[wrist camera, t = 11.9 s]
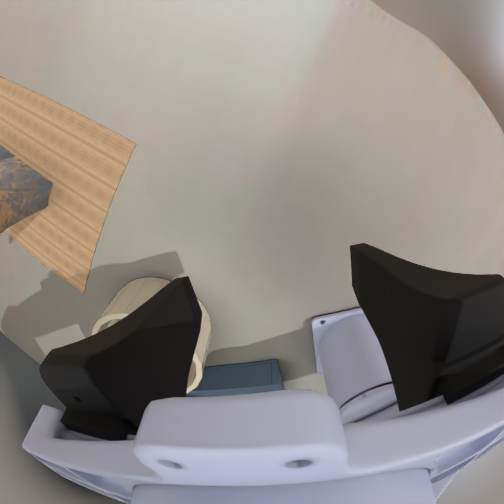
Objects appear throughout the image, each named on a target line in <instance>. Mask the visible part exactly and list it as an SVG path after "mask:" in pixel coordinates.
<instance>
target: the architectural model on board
mask: <svg viewBox="0 0 504 504" xmlns="http://www.w3.org/2000/svg"><path fill="white" fill-rule="evenodd" d="M135 145H136V144H135V143H133V142H131V141H129V140H127V139H126V138H124V137H122V136H120V135H118V134H116V133H114V132H112V131H111V130H109V129H107V128H105V127H103V126H101V125H99V124H97V123H95V122H93V121H91V120H89V119H87V118H85V117H84V116H82V115H80V114H78V113H76V112H74V111H72V110H70V109H68V108H66V107H64V106H62V105H60V104H57V103H55V102H53V101H51V100H49V99H47V98H45V97H43V96H41V95H39V94H37V93H34V92H32V91H30V90H28V89H26V88H24V87H22V86H19V85H17V84H15V83H13V82H10V81H8V80H6V79H4V78H1V77H0V232H2V231H5V232H6V233H7V234H8V235H9V236H10V237H12V238H13V239H14V240H15V241H16V242H17V243H18V244H20V245H21V246H22V247H23V248H24V249H25V250H27V251H28V252H29V253H30V254H31V255H33V256H34V257H35V258H36V259H37V260H39V261H40V262H41V263H43V264H44V265H45V266H46V267H48V268H49V269H50V270H52V271H53V272H54V273H55V274H57V275H58V276H60V277H61V278H62V279H64V280H65V281H66V282H68V283H69V284H71V285H72V286H73V287H75V288H76V289H78V290H79V291H81V292H82V293H83V294H84V290H85V286H86V282H87V278H88V274H89V270H90V266H91V262H92V259H93V255H94V252H95V248H96V245H97V242H98V239H99V235H100V232H101V229H102V226H103V223H104V220H105V218H106V215H107V212H108V209H109V206H110V204H111V201H112V198H113V196H114V193H115V191H116V188H117V186H118V183H119V181H120V178H121V176H122V174H123V171H124V169H125V167H126V164H127V162H128V160H129V158H130V156H131V153H132V151H133V149H134V147H135Z"/></svg>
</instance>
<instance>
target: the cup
mask: <svg viewBox="0 0 504 504" xmlns="http://www.w3.org/2000/svg"><path fill="white" fill-rule="evenodd" d="M170 282H171V281H169V280H165V279H161V278H155V277H145V278H139V279H135V280H133V281H130V282H129V283H127V284H126V285H125V286H124V287H123V288H122V289H121V290H120V291H119V292H118V293H117V295H116V296H115V297H114V299H113V300H112V301H111V303H110V304H109V305H108V307H107V308H106V309H105V311H104V312H103V314H102V315H101V316H100V318H99V319H98V320H97V322H96V324H95V326H94V328H93V329H92V335H94V334H96V333H98V332H100V331H102V330H104V329H106V328H108V327H110V326H112V325H113V324H115V323H117V322H118V321H120V320H121V319H123V318H124V317H126V316H127V315H129V314H130V313H132V312H133V311H134V310H136V309H137V308H138V307H140V306H141V305H142V304H143V303H145V302H146V301H147V300H149V299H150V298H151V297H152V296H153V295H155V294H156V293H157V292H158V291H160V290H161V289H162V288H163V287H165V286H166V285H167V284H169V283H170ZM197 300H198V299H197ZM198 303H199V305H200V308H201V310H202V322H201V330H200V334H199V338H198V342H197V346H196V349H195V353H194V357H193V360H192V364H191V368H190V372H189V377H188V384H187V392H186V394H187V393H189V392H190V391H192V390H193V389H195V388H196V387H197V386H198V384H199V382H200V381H201V379H202V376H203V371H204V367H205V362H206V357H207V353H208V348H209V343H210V339H211V321H210V318H209V315H208V313H207V311H206V309H205V308H204V306H203V304H202V303H201V302H200V301H199V300H198Z"/></svg>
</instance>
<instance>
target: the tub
mask: <svg viewBox="0 0 504 504" xmlns="http://www.w3.org/2000/svg"><path fill="white" fill-rule="evenodd" d="M279 390H285V388H284V384H283V380H282V376H281V372H280V368H279V365H278V361H277V359H274V360H267V361H260V362H252V363H243V364H234V365H224V366H213V367H204V371H203V376H202V379H201V381H200V382H199V384H198V386H197V387H196V388H195V389H193V390H192V391H190V392H189V393H187V394H186V397H214V396H231V395H244V394H254V393H263V392H272V391H279Z"/></svg>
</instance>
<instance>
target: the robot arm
mask: <svg viewBox="0 0 504 504" xmlns="http://www.w3.org/2000/svg"><path fill="white" fill-rule="evenodd" d="M350 251H351V268H352V286H353V289H354V292H355V295H356V297H357V300H358V303H359V305H360V307H361V308H356V309H352V310H348V311H343V312H339V313H334V314H329V315H324V316H320V317H315V318H313V319H312V321H311V325H312V333H313V341H314V350H315V359H316V369H317V373H320V374H321V373H324V377H325V381H326V386H327V391H328V396H327V395H324V394H321V393H318V392H315V391H312V390H279V391H272V392H263V393H254V394H244V395H231V396H214V397H186V392H187V384H188V377H189V372H190V368H191V364H192V360H193V357H194V353H195V349H196V346H197V342H198V338H199V334H200V330H201V322H202V310H201V308H200V305H199V303H198V300H197V298H196V295H195V293H194V290H193V287H192V285H191V282H190V279H189V277H188V276H187V277H182V278H176V279H175V280H173V281H171V282H170V283H169V284H167V285H166V286H165V287H163V288H162V289H161V290H160V291H158V292H157V293H156V294H155V295H153V296H152V297H151V298H150V299H149V300H147V301H146V302H145V303H143V304H142V305H141V306H140V307H138V308H137V309H136V310H134V311H133V312H132V313H130V314H129V315H127V316H126V317H124V318H123V319H121V320H120V321H118V322H117V323H115V324H113V325H112V326H110V327H108V328H106V329H104V330H102V331H100V332H98V333H96V334H94V335H92V336H90V337H88V338H85V339H83V340H80V341H78V342H75V343H72V344H69V345H66V346H63V347H60V348H56V349H53V350H51V351H50V352H49V354H48V355H47V356H46V358H45V359H44V361H43V362H42V364H41V365H40V369H39V370H40V374H41V377H42V379H43V381H44V382H45V383H46V385H47V386H48V387H49V389H50V390H51V391H52V392H53V393H54V394H55V395H56V396H57V398H58V399H59V400H60V401H61V402H62V403H63V404H64V405H65V406H66V407H67V408H66V410H65V412H62V411H61V410H59V409H56V408H52V407H50V406H46V405H43V406H42V407H41V409H40V411H39V413H38V415H37V417H36V418H35V420H34V422H33V424H32V426H31V428H30V430H29V432H28V434H27V436H26V438H25V440H24V442H23V444H22V447H23V448H24V449H25V450H27V451H28V452H29V453H30V454H32V455H33V456H34V457H36V458H37V459H38V460H40V461H41V462H42V463H44V464H45V465H46V466H48V467H49V468H51V469H52V470H54V471H55V472H57V473H58V474H60V475H61V476H63V477H65V478H67V479H69V480H71V481H74V482H76V483H78V484H80V485H82V486H85V487H87V488H89V489H91V490H94V491H96V492H98V493H101V494H103V495H106V496H108V497H111V498H114V499H116V500H119V501H122V502H125V503H128V504H437V503H436V500H437V499H438V497H439V496H440V495H441V493H442V492H443V491H444V490H445V488H446V487H447V486H448V484H449V483H450V482H451V480H452V479H453V477H454V476H455V475H456V473H457V472H458V471H459V470H461V469H462V468H464V467H466V466H467V465H469V464H471V463H472V462H474V461H475V460H477V459H478V458H480V457H481V456H483V455H484V454H486V453H487V452H489V451H490V450H492V449H493V448H494V447H496V446H497V445H498V444H500V443H501V442H502V441H503V440H504V278H503V277H502V276H501V275H499V274H494V275H473V274H461V273H453V272H447V271H441V270H436V269H432V268H428V267H425V266H421V265H418V264H415V263H412V262H409V261H406V260H404V259H401V258H398V257H396V256H394V255H391V254H389V253H387V252H384V251H382V250H380V249H378V248H375V247H373V246H370V245H368V244H365V243H361V244H356V245H351V246H350ZM322 320H324V321H323V322H320V321H322Z"/></svg>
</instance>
